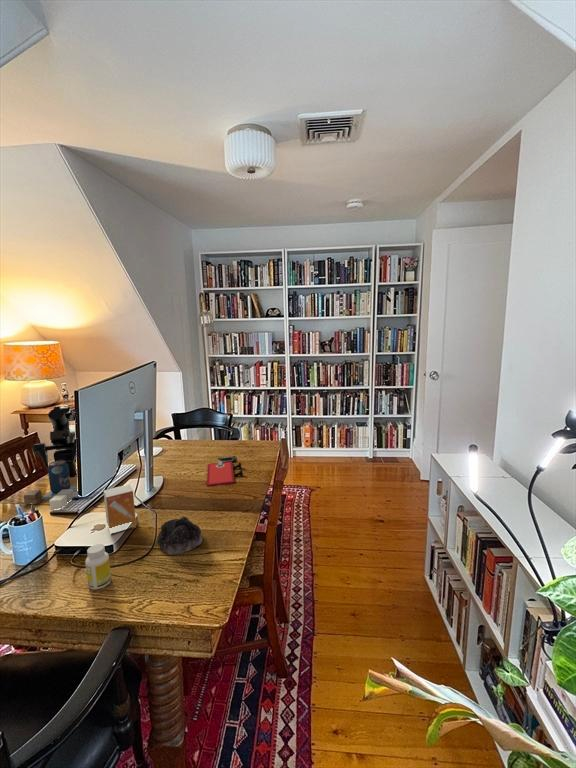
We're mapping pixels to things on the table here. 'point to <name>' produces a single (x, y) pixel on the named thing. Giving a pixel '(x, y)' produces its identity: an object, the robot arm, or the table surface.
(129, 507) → the small box
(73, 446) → the robot arm
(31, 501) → the walnut block
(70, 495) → the grey block
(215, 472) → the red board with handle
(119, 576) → the table surface
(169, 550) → the crystal cluster
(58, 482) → the soda can
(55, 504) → the off-white block
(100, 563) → the supplement bottle
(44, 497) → the slate tile
